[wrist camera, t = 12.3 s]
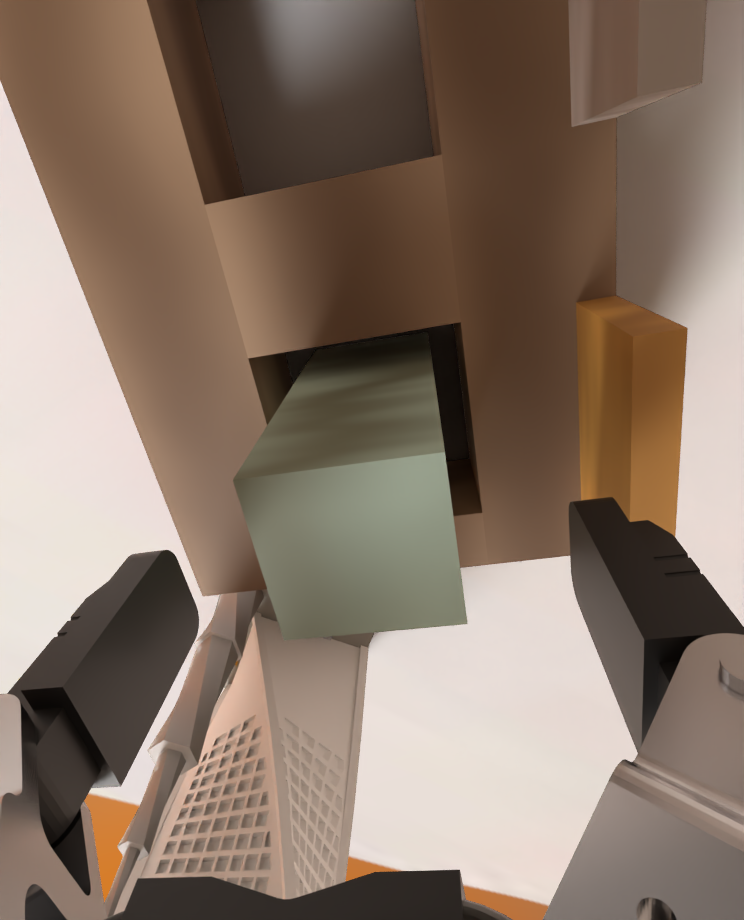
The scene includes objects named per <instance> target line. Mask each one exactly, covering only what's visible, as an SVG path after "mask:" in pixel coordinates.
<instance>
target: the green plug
mask: <svg viewBox="0 0 744 920" xmlns="http://www.w3.org/2000/svg"><path fill="white" fill-rule="evenodd" d="M233 482H234V486H235V489H236V492H237V495H238V498H239V501H240V504H241V508H242V511H243V514H244V517H245V520H246V523H247V527H248V530H249V533H250V536H251V539H252V542H253V545H254V549H255V552H256V555H257V558H258V561H259V564H260V567H261V571H262V574H263V577H264V580H265V583H266V586H267V589H268V593H269V596H270V599H271V602H272V605H273V608H274V612H275V615H276V618H277V621H278V624H279V627H280V630H281V634H282V637H283V640H284V641H285V640H296V639H307V638H318V637H329V636H340V635H351V634H362V633H373V632H384V631H395V630H406V629H417V628H428V627H439V626H450V625H461V624H467V617H466V609H465V601H464V594H463V586H462V579H461V571H460V563H459V556H458V548H457V540H456V533H455V525H454V517H453V510H452V502H451V494H450V487H449V479H448V471H447V464H446V456H445V449H444V442H443V435H442V428H441V421H440V414H439V407H438V400H437V393H436V386H435V379H434V372H433V365H432V358H431V351H430V344H429V337H428V332H422V333H416V334H410V335H404V336H398V337H391V338H385V339H379V340H373V341H367V342H361V343H354V344H348V345H342V346H336V347H330V348H323V349H317V350H315V351H314V353H313V354H312V356H311V357H310V359H309V361H308V362H307V364H306V365H305V367H304V369H303V370H302V372H301V373H300V375H299V376H298V378H297V380H296V381H295V383H294V384H293V386H292V387H291V389H290V391H289V392H288V394H287V395H286V397H285V398H284V400H283V402H282V403H281V405H280V406H279V408H278V410H277V411H276V413H275V414H274V416H273V417H272V419H271V421H270V422H269V424H268V425H267V427H266V428H265V430H264V432H263V433H262V435H261V436H260V438H259V439H258V441H257V443H256V444H255V446H254V447H253V449H252V451H251V452H250V454H249V455H248V457H247V458H246V460H245V462H244V463H243V465H242V466H241V468H240V469H239V471H238V473H237V474H236V476H235V477H234V479H233Z"/></svg>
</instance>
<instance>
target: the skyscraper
mask: <svg viewBox="0 0 744 920" xmlns="http://www.w3.org/2000/svg"><path fill="white" fill-rule="evenodd" d="M374 633H375V632H373V633H362V634H351V635H340V636H329V637H318V638H307V639H296V640H285V641H284V640H283V637H282V634H281V630H280V627H279V624H278V621H277V618H276V615H275V612H274V608H273V605H272V602H271V599H270V596H269V593H268V589H264V590H255V591H246V592H237V593H228V594H220V596H219V599H218V603H217V606H216V610H215V613H214V616H213V619H212V620H211V622H210V624H209V625H208V627H207V628H206V630H205V631H204V632H203V634H202V635H201V636H200V637H199V638H198V640H197V641H196V642H195V643H194V644H195V646H196V652H195V654H194V657H193V660H192V663H191V666H190V668H189V671H188V674H187V677H186V680H185V682H184V685H183V688H182V691H181V693H180V696H179V698H178V701H177V703H176V705H175V707H174V709H173V711H172V712H171V714H170V716H169V717H168V719H167V720H166V722H165V724H164V725H163V727H162V728H161V730H160V732H159V733H158V735H157V736H156V738H155V739H154V741H153V743H152V744H151V746H150V747H149V749H148V753H149V755H150V757H151V758H152V760H153V762H154V764H155V767H154V770H153V773H152V775H151V778H150V781H149V783H148V786H147V789H146V792H145V794H144V797H143V800H142V802H141V804H140V807H139V809H138V811H137V812H136V814H135V816H134V818H133V820H132V821H131V823H130V825H129V827H128V829H127V830H126V832H125V834H124V836H123V838H122V839H121V841H120V843H119V845H118V849H119V850H120V851H121V853H122V855H123V859H122V861H121V864H120V867H119V869H118V871H117V874H116V877H115V879H114V882H113V884H112V887H111V889H110V892H109V894H108V896H107V898H106V901H105V902H104V906H105V910H106V914H107V918H109V917H111V916H113V915H115V914H117V913H120V912H122V911H124V910H125V908H126V906H127V903H128V901H129V898H130V896H131V893H132V891H133V889H134V886H135V884H136V881H137V879H138V878H171V877H209V876H212V877H215V878H218V879H221V880H224V881H227V882H230V883H233V884H236V885H239V886H242V887H245V888H249V889H252V890H255V891H258V892H261V893H264V894H267V895H270V896H273V897H276V898H280V899H293V898H297V897H300V896H303V895H306V894H309V893H312V892H315V891H318V890H322V889H325V888H328V887H331V886H334V885H337V884H340V883H343V882H345V879H346V871H347V862H348V854H349V846H350V837H351V829H352V820H353V812H354V803H355V793H356V783H357V773H358V763H359V752H360V742H361V732H362V720H363V707H364V695H365V683H366V671H367V659H368V647H369V644H370V641H371V639H372V637H373V635H374ZM223 688H225V689H224V691H223V692H222V690H223ZM221 692H222V694H221ZM220 694H221V696H220ZM219 696H220V697H219ZM218 698H219V699H218ZM217 700H218V701H217Z"/></svg>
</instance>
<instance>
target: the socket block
mask: <svg viewBox="0 0 744 920" xmlns="http://www.w3.org/2000/svg"><path fill="white" fill-rule="evenodd" d="M415 5H416V14H417V22H418V30H419V39H420V47H421V55H422V64H423V72H424V80H425V89H426V97H427V106H428V114H429V122H430V131H431V139H432V147H433V156H432V157H428V158H423V159H418V160H414V161H409V162H404V163H400V164H395V165H390V166H385V167H381V168H376V169H371V170H367V171H362V172H357V173H352V174H348V175H343V176H338V177H334V178H329V179H324V180H320V181H315V182H310V183H305V184H301V185H296V186H291V187H287V188H282V189H277V190H273V191H268V192H263V193H258V194H254V195H249V196H245V194H244V190H243V186H242V182H241V178H240V174H239V170H238V166H237V162H236V158H235V154H234V151H233V147H232V143H231V139H230V135H229V131H228V127H227V123H226V119H225V115H224V111H223V107H222V103H221V99H220V95H219V91H218V87H217V84H216V80H215V76H214V72H213V68H212V64H211V60H210V56H209V52H208V48H207V44H206V40H205V36H204V32H203V28H202V24H201V20H200V17H199V13H198V9H197V5H196V1H195V0H0V81H1V83H2V86H3V88H4V91H5V93H6V96H7V98H8V101H9V104H10V106H11V109H12V111H13V114H14V116H15V119H16V121H17V124H18V126H19V129H20V132H21V134H22V137H23V139H24V142H25V144H26V147H27V149H28V152H29V155H30V157H31V160H32V162H33V165H34V167H35V170H36V172H37V175H38V177H39V180H40V183H41V185H42V188H43V190H44V193H45V195H46V198H47V200H48V203H49V206H50V208H51V211H52V213H53V216H54V218H55V221H56V223H57V226H58V228H59V231H60V234H61V236H62V239H63V241H64V244H65V246H66V249H67V251H68V254H69V257H70V259H71V262H72V264H73V267H74V269H75V272H76V274H77V277H78V279H79V282H80V285H81V287H82V290H83V292H84V295H85V297H86V300H87V302H88V305H89V308H90V310H91V313H92V315H93V318H94V320H95V323H96V325H97V328H98V330H99V333H100V336H101V338H102V341H103V343H104V346H105V348H106V351H107V353H108V356H109V358H110V361H111V364H112V366H113V369H114V371H115V374H116V376H117V379H118V381H119V384H120V387H121V389H122V392H123V394H124V397H125V399H126V402H127V404H128V407H129V409H130V412H131V415H132V417H133V420H134V422H135V425H136V427H137V430H138V432H139V435H140V438H141V440H142V443H143V445H144V448H145V450H146V453H147V455H148V458H149V460H150V463H151V466H152V468H153V471H154V473H155V476H156V478H157V481H158V483H159V486H160V489H161V491H162V494H163V496H164V499H165V501H166V504H167V506H168V509H169V511H170V514H171V517H172V519H173V522H174V524H175V527H176V529H177V532H178V534H179V537H180V540H181V542H182V545H183V547H184V550H185V552H186V555H187V557H188V560H189V562H190V565H191V568H192V570H193V573H194V575H195V578H196V580H197V583H198V585H199V588H200V591H201V593H202V596H210V595H219V594H228V593H237V592H246V591H255V590H264V589H267V586H266V583H265V580H264V577H263V574H262V571H261V567H260V564H259V561H258V558H257V555H256V552H255V549H254V545H253V542H252V539H251V536H250V533H249V530H248V527H247V523H246V520H245V517H244V514H243V511H242V508H241V504H240V501H239V498H238V495H237V492H236V489H235V486H234V482H233V479H234V477H235V476H236V474H237V473H238V471H239V469H240V468H241V466H242V465H243V463H244V462H245V460H246V458H247V457H248V455H249V454H250V452H251V451H252V449H253V447H254V446H255V444H256V443H257V441H258V439H259V438H260V436H261V435H262V433H263V432H264V430H265V428H266V427H267V425H268V424H269V422H270V421H271V419H272V417H273V416H274V414H275V413H276V411H277V410H278V408H279V406H280V405H281V403H282V402H283V400H284V398H285V397H286V395H287V394H288V392H289V391H290V389H291V387H292V386H293V383H292V379H291V375H290V371H289V367H288V363H287V359H286V355H285V352H289V351H295V350H301V349H307V348H312V347H318V346H324V345H330V344H336V343H342V342H348V341H353V340H359V339H365V338H371V337H377V336H383V335H389V334H394V333H400V332H406V331H412V330H418V329H424V328H429V327H435V326H441V325H447V324H453V323H454V332H455V340H456V348H457V357H458V365H459V373H460V382H461V390H462V399H463V407H464V415H465V424H466V432H467V440H468V449H469V457H470V458H469V459H462V460H455V461H447V462H446V464H447V471H448V479H449V487H450V494H451V502H452V510H453V517H454V525H455V533H456V540H457V548H458V556H459V563H460V568H462V567H471V566H480V565H489V564H498V563H507V562H516V561H525V560H534V559H543V558H552V557H561V556H570V535H569V504H570V502H572V501H581V500H589V499H597V498H605V497H613V498H614V499H615V500H616V502H617V503H618V505H619V506H620V508H621V509H622V511H623V512H624V514H625V515H626V517H627V518H628V520H629V521H630V522H634V521H642V520H649V521H651V522H653V523H654V524H656V525H658V526H659V527H661V528H663V529H664V530H666V531H668V532H669V533H671V534H673V535H674V537H675V530H676V513H677V497H678V480H679V463H680V446H681V429H682V412H683V395H684V378H685V361H686V344H687V328H686V327H684V326H682V325H680V324H677V323H675V322H673V321H671V320H669V319H666V318H664V317H662V316H660V315H658V314H655V313H653V312H651V311H649V310H647V309H644V308H642V307H640V306H638V305H636V304H633V303H631V302H629V301H627V300H624V299H622V298H620V297H618V296H616V163H617V117H619V116H621V115H624V114H626V113H629V112H631V111H633V110H636V109H638V108H641V107H643V106H646V105H648V104H651V103H653V102H656V101H658V100H661V99H663V98H665V97H668V96H670V95H673V94H675V93H678V92H680V91H683V90H685V89H688V88H690V87H693V86H695V85H697V84H700V83H702V73H703V56H704V39H705V22H706V5H707V0H415Z"/></svg>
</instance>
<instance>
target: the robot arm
mask: <svg viewBox="0 0 744 920" xmlns="http://www.w3.org/2000/svg"><path fill="white" fill-rule="evenodd" d="M569 535H570V557H571V574H572V581H573V587H574V591H575V595H576V599H577V602H578V604H579V607H580V609H581V612H582V614H583V617H584V619H585V622H586V624H587V627H588V629H589V632H590V634H591V637H592V639H593V642H594V644H595V647H596V649H597V652H598V654H599V657H600V659H601V662H602V664H603V667H604V669H605V672H606V674H607V677H608V679H609V682H610V684H611V687H612V689H613V692H614V694H615V697H616V699H617V702H618V704H619V707H620V709H621V712H622V714H623V717H624V719H625V722H626V724H627V727H628V729H629V732H630V734H631V737H632V739H633V742H634V744H635V747H636V749H637V752H638V755H637V757H636V758H635V760H634V761H633V762H630V761H627V760H622V761H621V762H620V763H619V764H618V766H617V767H616V768H615V770H614V772H613V773H612V775H611V777H610V779H609V781H608V783H607V785H606V788H605V790H604V792H603V794H602V796H601V798H600V800H599V802H598V804H597V806H596V809H595V811H594V813H593V815H592V817H591V819H590V821H589V823H588V825H587V827H586V830H585V832H584V834H583V836H582V838H581V840H580V842H579V844H578V846H577V849H576V851H575V853H574V855H573V857H572V859H571V861H570V863H569V865H568V867H567V870H566V872H565V874H564V876H563V878H562V880H561V882H560V884H559V886H558V889H557V891H556V893H555V895H554V897H553V899H552V901H551V903H550V905H549V907H548V910H547V912H546V914H545V916H544V918H543V920H744V627H743V626H742V624H741V623H740V622H739V620H738V619H737V618H736V616H735V615H734V614H733V613H732V611H731V610H730V609H729V607H728V606H727V605H726V603H725V602H724V601H723V600H722V598H721V597H720V596H719V594H718V593H717V592H716V590H715V589H714V588H713V586H712V585H711V584H710V583H709V581H708V580H707V579H706V577H705V576H704V575H703V574H701V573H700V569H699V568H698V567H697V566H696V564H695V563H694V562H693V560H692V559H691V558H688V555H687V552H686V551H685V550H684V549H683V547H682V546H681V545H680V543H679V542H678V541H677V539H676V538H675V537H674V535H673V534H671V533H669V532H668V531H666V530H664V529H663V528H661V527H659V526H658V525H656V524H654V523H653V522H651V521H649V520H642V521H634V522H630V521H629V520H628V518H627V517H626V515H625V514H624V512H623V511H622V509H621V508H620V506H619V505H618V503H617V502H616V500H615V499H614V498H613V497H605V498H597V499H589V500H581V501H572V502H570V504H569ZM198 627H199V616H198V610H197V607H196V604H195V602H194V599H193V597H192V594H191V592H190V590H189V587H188V585H187V582H186V580H185V577H184V575H183V572H182V570H181V568H180V565H179V563H178V560H177V558H176V556H175V555H174V554H173V553H172V552H171V551H169V550H162V551H154V552H146V553H138V554H132V555H131V556H129V557H128V558H127V559H126V561H125V562H124V563H123V564H122V565H121V567H120V568H119V569H118V570H117V572H116V573H115V574H114V575H113V577H112V578H111V579H110V580H109V581H108V582H107V583H106V584H104V585H103V586H102V587H100V588H99V589H98V590H97V591H95V592H94V593H93V594H91V595H90V596H89V597H87V598H86V599H85V601H84V602H83V603H82V604H81V605H80V607H79V608H78V609H77V610H76V611H75V613H74V614H73V615H72V616H71V621H67V622H66V624H65V625H64V626H63V627H62V628H61V630H60V631H59V632H58V637H54V638H53V639H52V640H51V642H50V643H49V644H48V645H47V646H46V648H45V649H44V650H43V651H42V652H41V654H40V655H39V656H38V657H37V658H36V660H35V661H34V662H33V663H32V664H31V666H30V667H29V668H28V669H27V671H26V672H25V673H24V674H23V675H22V677H21V678H20V679H19V680H18V681H17V683H16V684H15V685H14V686H13V687H12V689H11V690H10V691H9V692H8V693H7V694H0V920H512V919H511V918H509V917H507V916H506V915H504V914H502V913H499V912H497V911H495V910H493V909H491V908H488V907H486V906H484V905H481V904H478V903H475V902H471V901H468V900H466V898H465V893H464V888H463V883H462V878H461V873H460V870H436V871H398V872H374V873H371V874H368V875H365V876H362V877H359V878H355V879H352V880H349V881H346V882H343V883H340V884H337V885H334V886H331V887H328V888H325V889H322V890H318V891H315V892H312V893H309V894H306V895H303V896H300V897H297V898H293V899H280V898H276V897H273V896H270V895H267V894H264V893H261V892H258V891H255V890H252V889H249V888H245V887H242V886H239V885H236V884H233V883H230V882H227V881H224V880H221V879H218V878H215V877H212V876H209V877H171V878H138V879H137V881H136V884H135V886H134V889H133V891H132V893H131V896H130V898H129V901H128V903H127V906H126V908H125V910H124V911H122V912H120V913H117V914H115V915H113V916H111V917H109V918H107V914H106V910H105V906H104V900H103V893H102V887H101V879H100V873H99V866H98V859H97V853H96V846H95V839H94V832H93V826H92V819H91V814H90V810H89V809H88V807H87V806H86V804H85V802H84V800H85V798H86V796H87V795H88V793H89V791H90V789H91V788H100V787H118V786H121V785H122V783H123V781H124V779H125V777H126V775H127V773H128V771H129V769H130V768H131V766H132V764H133V762H134V760H135V758H136V756H137V754H138V752H139V750H140V748H141V746H142V744H143V742H144V740H145V738H146V736H147V734H148V732H149V730H150V728H151V726H152V724H153V722H154V720H155V718H156V716H157V714H158V712H159V710H160V708H161V706H162V704H163V702H164V700H165V698H166V696H167V694H168V692H169V690H170V688H171V686H172V684H173V682H174V680H175V678H176V676H177V674H178V672H179V670H180V668H181V666H182V665H183V663H184V661H185V659H186V657H187V655H188V653H189V651H190V649H191V647H192V645H193V643H194V641H195V639H196V636H197V633H198Z"/></svg>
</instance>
